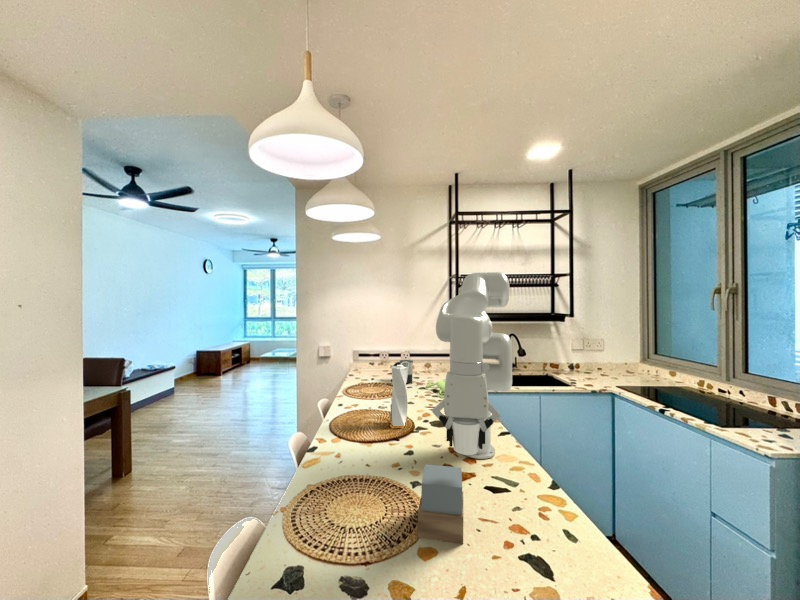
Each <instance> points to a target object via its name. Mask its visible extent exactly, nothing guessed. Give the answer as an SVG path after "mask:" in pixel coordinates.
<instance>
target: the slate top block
mask: <svg viewBox="0 0 800 600" xmlns="http://www.w3.org/2000/svg"><path fill="white" fill-rule="evenodd" d="M462 472H463V471H462V467H459V466H458V467H457V466H448V465H437V464H436V465H435V464H424V469H423V473H422V478H421V479H422V480H421V496H420V499H421V511H429V512H438V513H446V514H455V515H462V491H463V475H462Z"/></svg>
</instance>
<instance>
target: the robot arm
mask: <svg viewBox="0 0 800 600" xmlns="http://www.w3.org/2000/svg"><path fill="white" fill-rule="evenodd" d="M509 300H510V281H509V278H508V277H507V275H506V274H504V272H503V273H502V272H500V271H499V272H498V271H497V272H472V273H470V274H468V275H466V277H464V279H463V282H462V284H461V286H460V287H459V289H458V295H455V296H454V297H451V298H450V299H449V300H447V301H445V302H444V303H443V304H442V305H441V306H440V308H439V309H440V310H439V312H438V316H437V318H436V324H435V335H436V337H437V338H438V339H439V341H441V342H444V343H450V344H449V371H448V372H446V374H445V375H446V376H445V379H444V380H445V382H444V383H445V391H443V393H444V394H443V396H444V398H443V399H442V400H441V401H439V403H437V404H436V406H435V407H434V408H432V414H433V415H434V416H435V417H436V418H437V419H438V421H439V422H440V423H441V424H443V426H444V427H445V429H446V442H449V447H454V446H453V429H452V423H453V422H452V421H453V420H454V418H465V419H477V420H478V422H479V423H480V431H479V447H478V452H477V453H476V454H474V455H464V456H466V457H468V458H471V459H472V458H473V459H478V460H486V459H491V458H493V457H494V456H495V454H496V449H495V447H494V446H493V445H492V444H491V441H492V438H491V437H492V436H491V434H492V432H491V429H492V428H491V427H492V425H493V424H494V423H495V422H497V421H498V420H499V419H500V418H501V413H500V412H499V411H498V410H497V409H496V408H495V407H494V406H493V405H492V404H491V400H490V398H489V392H490V391H491V392H501V393H502V392H505V393H506V392H508V391H511V389H512V385H513V345H512V344H513V343H512V340H511V337H510V336H509V335H508V334H506V333H501V332H493V322H492V321H491V319H490V317H489V315H488V313H487V312H486V309H487V308H505V307H506V306H507V305H508V303H509ZM484 360H495V361H498V363H494V362H493V363H490V362H484ZM488 391H489V392H488ZM441 410H443V411H444V413H442V412H441Z"/></svg>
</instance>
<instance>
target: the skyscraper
mask: <svg viewBox="0 0 800 600" xmlns="http://www.w3.org/2000/svg"><path fill="white" fill-rule="evenodd" d="M403 363H409V362H407V361H404V362H402V363H401V365H397V366H394V365H391V379H392V382H393V383H392V382H391V383H392V394H391V403H390V414H389V417H390V419H389V422H390V421H392V425H393V426H405V422H406V423H407V416H408V415H407V414H408V393H407V391H408V390H407V384H406V383H407V377H408V367H409V364H410V363H409V364H408V367H403V365H402V364H403Z"/></svg>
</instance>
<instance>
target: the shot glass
mask: <svg viewBox="0 0 800 600" xmlns="http://www.w3.org/2000/svg"><path fill="white" fill-rule="evenodd" d="M452 422H453V423H452V429H453V446H452V447H453V451H454V452H456V453H458V454H459V455H463V456H465V455H474V454H476V453H477V452H478V447H479V431H480V423H479V422H478V420H477V419H465V418H454V420H453V421H452Z"/></svg>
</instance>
